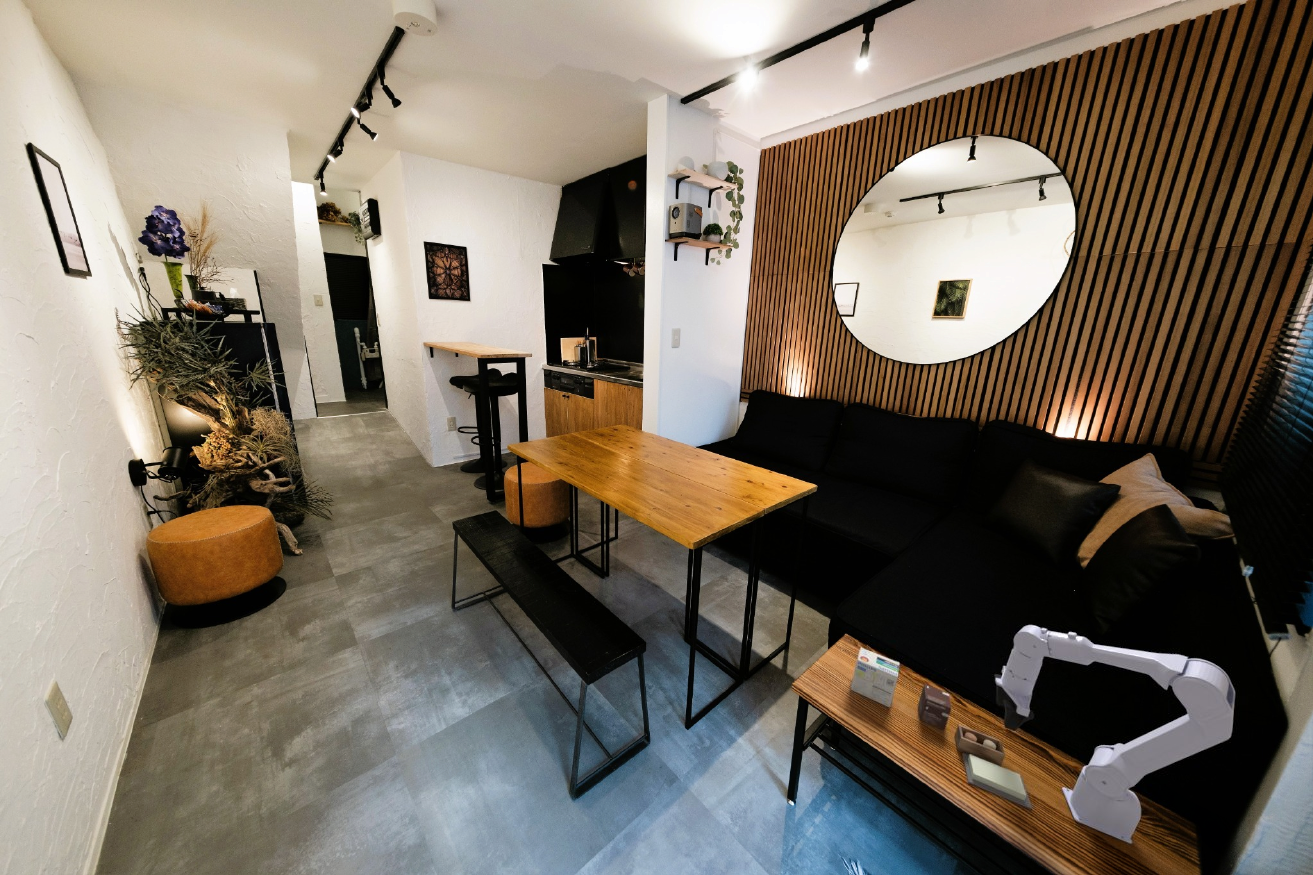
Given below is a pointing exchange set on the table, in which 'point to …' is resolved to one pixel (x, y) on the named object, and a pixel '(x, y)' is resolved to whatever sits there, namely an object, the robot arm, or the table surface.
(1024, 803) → the mat
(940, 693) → the box
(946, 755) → the table surface
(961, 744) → the crate
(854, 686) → the light bulb box
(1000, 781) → the lid
